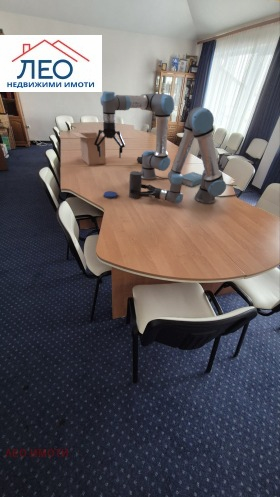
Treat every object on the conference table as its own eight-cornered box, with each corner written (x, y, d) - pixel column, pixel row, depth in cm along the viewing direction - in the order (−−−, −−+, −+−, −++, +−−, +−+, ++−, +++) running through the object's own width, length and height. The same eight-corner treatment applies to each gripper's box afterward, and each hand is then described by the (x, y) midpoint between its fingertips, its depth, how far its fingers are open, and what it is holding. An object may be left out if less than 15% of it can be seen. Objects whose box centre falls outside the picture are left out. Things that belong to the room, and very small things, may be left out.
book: (191, 177, 214) (192, 171, 211) (206, 182, 205) (207, 176, 202) (177, 181, 200) (178, 176, 197) (192, 187, 191) (193, 181, 188)
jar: (129, 198, 165) (129, 174, 155) (129, 193, 172) (129, 170, 162) (140, 198, 166) (142, 175, 155) (140, 194, 173) (141, 171, 163)
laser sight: (156, 166, 236) (157, 156, 230) (135, 163, 239) (136, 153, 233) (157, 163, 244) (158, 154, 238) (137, 161, 247) (138, 151, 241)
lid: (111, 192, 173) (111, 190, 172) (119, 196, 167) (119, 194, 166) (101, 195, 167) (101, 193, 166) (109, 199, 161) (109, 197, 160)
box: (116, 165, 229) (116, 136, 213) (83, 168, 214) (80, 137, 198) (102, 154, 259) (101, 128, 243) (71, 156, 244) (68, 129, 228)
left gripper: (88, 121, 135) (90, 157, 147) (128, 123, 135) (127, 159, 148) (90, 119, 141) (92, 154, 153) (129, 122, 141) (128, 157, 154)
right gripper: (154, 205, 152) (127, 198, 159) (166, 193, 171) (141, 187, 177) (155, 195, 148) (127, 188, 154) (167, 184, 166) (141, 178, 173)
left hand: (110, 157), depth 151 cm, fingers open, 13 cm apart
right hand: (134, 188), depth 166 cm, fingers open, 13 cm apart
